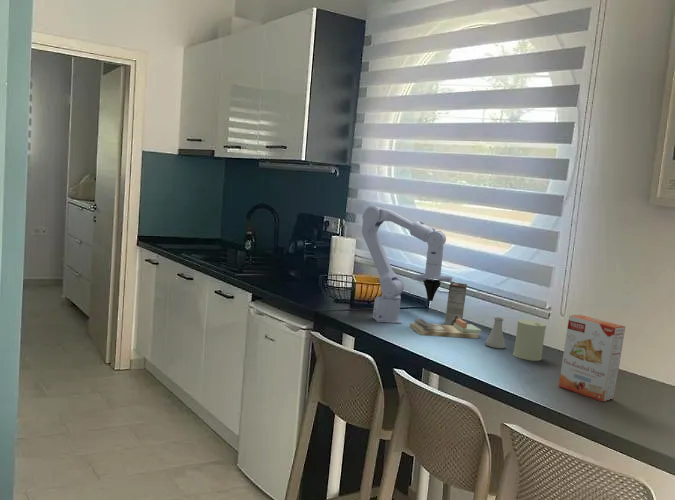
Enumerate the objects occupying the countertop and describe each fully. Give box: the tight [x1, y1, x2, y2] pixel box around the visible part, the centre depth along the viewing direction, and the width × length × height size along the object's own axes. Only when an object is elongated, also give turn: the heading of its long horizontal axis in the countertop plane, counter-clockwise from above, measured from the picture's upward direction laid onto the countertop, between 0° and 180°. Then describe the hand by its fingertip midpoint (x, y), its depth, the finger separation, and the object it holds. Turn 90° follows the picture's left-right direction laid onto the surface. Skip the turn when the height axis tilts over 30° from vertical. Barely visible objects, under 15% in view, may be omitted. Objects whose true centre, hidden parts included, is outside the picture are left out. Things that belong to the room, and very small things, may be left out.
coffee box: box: [444, 281, 467, 326], centre depth 267 cm, size 9×6×16 cm
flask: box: [484, 316, 506, 350], centre depth 239 cm, size 7×7×10 cm
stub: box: [454, 319, 482, 334], centre depth 254 cm, size 7×9×3 cm
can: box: [512, 319, 547, 362], centre depth 228 cm, size 9×9×12 cm
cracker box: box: [558, 314, 626, 402], centre depth 192 cm, size 14×6×21 cm, turn 40°
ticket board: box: [409, 318, 480, 339], centre depth 252 cm, size 22×12×3 cm, turn 101°
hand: (429, 300), depth 256 cm, fingers closed
